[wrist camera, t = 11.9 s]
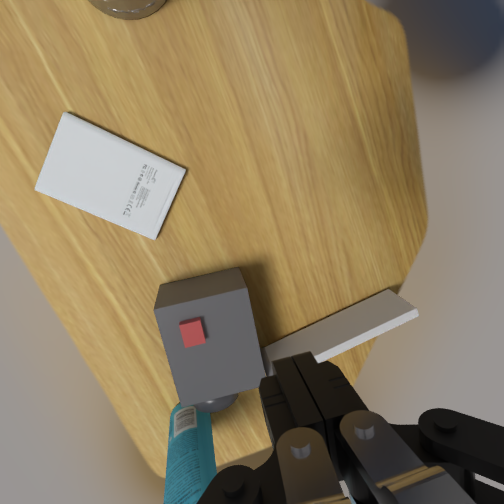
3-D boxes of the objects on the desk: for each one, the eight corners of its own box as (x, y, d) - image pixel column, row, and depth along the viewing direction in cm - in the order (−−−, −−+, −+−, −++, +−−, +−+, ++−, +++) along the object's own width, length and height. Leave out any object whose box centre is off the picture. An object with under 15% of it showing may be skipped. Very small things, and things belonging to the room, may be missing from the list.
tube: (186, 445, 47) (183, 629, 29) (156, 426, 46) (131, 606, 28) (225, 403, 47) (246, 564, 28) (195, 383, 45) (197, 538, 27)
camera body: (159, 285, 42) (152, 313, 34) (238, 266, 43) (248, 290, 35) (187, 386, 45) (186, 431, 38) (260, 367, 46) (272, 408, 39)
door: (388, 288, 46) (416, 307, 40) (392, 299, 46) (420, 320, 40) (257, 349, 45) (266, 378, 39) (262, 361, 45) (272, 390, 40)
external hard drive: (68, 112, 37) (186, 169, 40) (40, 189, 38) (155, 238, 41) (63, 110, 35) (186, 169, 38) (33, 190, 36) (154, 241, 39)
